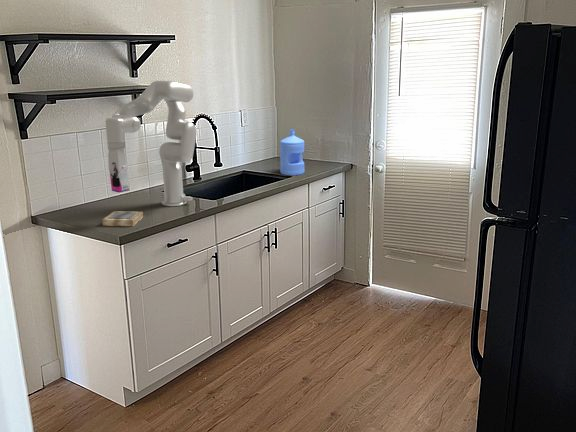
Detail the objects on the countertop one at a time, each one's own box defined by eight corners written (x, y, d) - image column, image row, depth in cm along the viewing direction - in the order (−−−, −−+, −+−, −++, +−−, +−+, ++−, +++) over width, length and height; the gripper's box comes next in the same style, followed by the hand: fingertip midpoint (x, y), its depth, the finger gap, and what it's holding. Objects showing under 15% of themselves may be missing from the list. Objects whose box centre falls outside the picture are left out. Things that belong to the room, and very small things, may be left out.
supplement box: (122, 188, 257) (119, 164, 253) (129, 190, 253) (127, 165, 250) (111, 190, 252) (108, 165, 249) (118, 192, 249) (116, 167, 246)
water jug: (275, 173, 359) (274, 129, 351) (291, 169, 370) (291, 127, 362) (293, 176, 349) (293, 131, 341) (309, 172, 360) (309, 129, 352)
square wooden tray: (143, 217, 263) (142, 211, 262) (133, 226, 250) (132, 219, 249) (114, 217, 264) (113, 210, 263) (102, 225, 251) (102, 219, 250)
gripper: (115, 142, 256) (118, 180, 260) (100, 148, 239) (104, 188, 244) (131, 142, 255) (134, 180, 260) (117, 148, 238) (121, 189, 243)
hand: (119, 184), depth 252 cm, fingers closed on supplement box, 7 cm apart
